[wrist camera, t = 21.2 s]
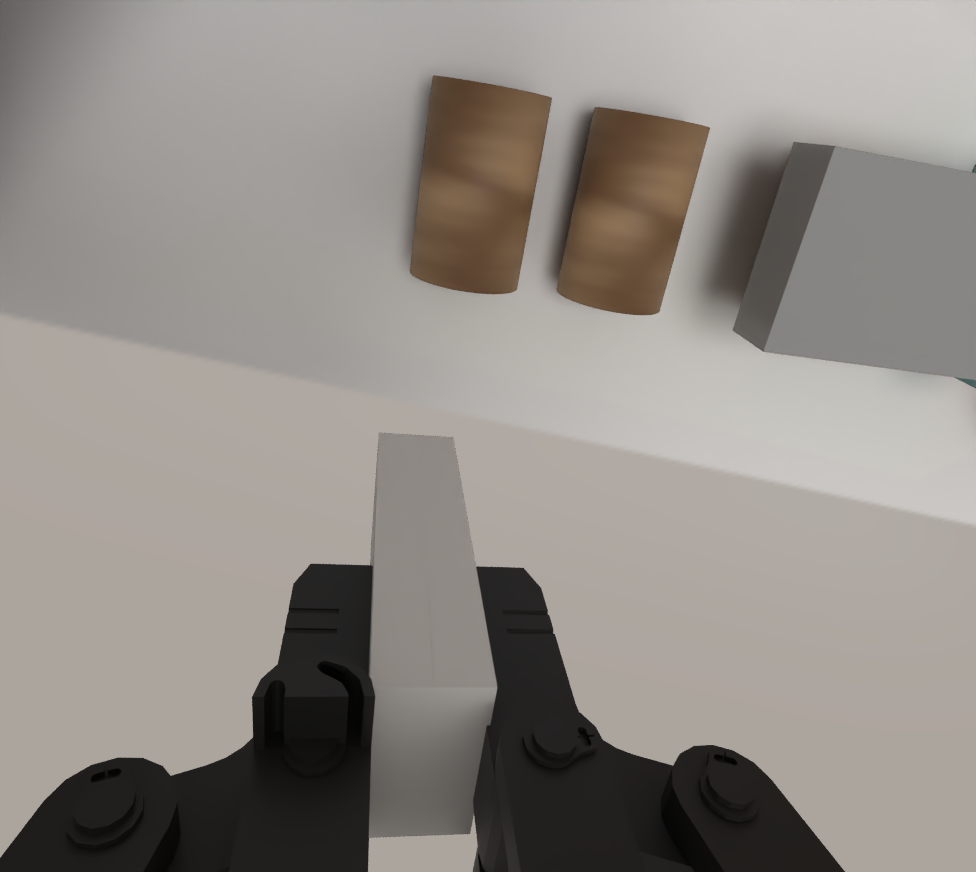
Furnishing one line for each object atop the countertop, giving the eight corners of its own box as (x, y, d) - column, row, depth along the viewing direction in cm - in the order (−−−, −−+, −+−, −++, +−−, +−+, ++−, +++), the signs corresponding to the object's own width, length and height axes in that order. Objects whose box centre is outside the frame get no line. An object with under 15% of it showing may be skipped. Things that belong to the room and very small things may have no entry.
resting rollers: (409, 259, 34) (410, 283, 29) (430, 78, 30) (435, 73, 26) (640, 293, 36) (674, 320, 31) (684, 126, 32) (729, 130, 28)
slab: (732, 330, 31) (763, 351, 29) (794, 142, 28) (835, 146, 25) (960, 361, 33) (1009, 384, 31) (1042, 189, 30) (1105, 198, 27)
